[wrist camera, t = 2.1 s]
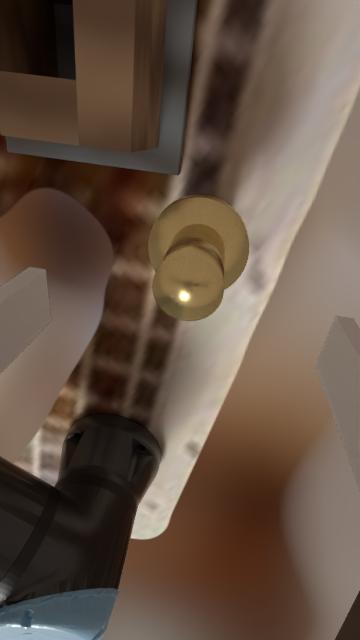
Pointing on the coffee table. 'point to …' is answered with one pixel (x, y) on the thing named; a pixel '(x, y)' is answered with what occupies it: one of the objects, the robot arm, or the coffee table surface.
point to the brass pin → (196, 255)
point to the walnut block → (97, 80)
